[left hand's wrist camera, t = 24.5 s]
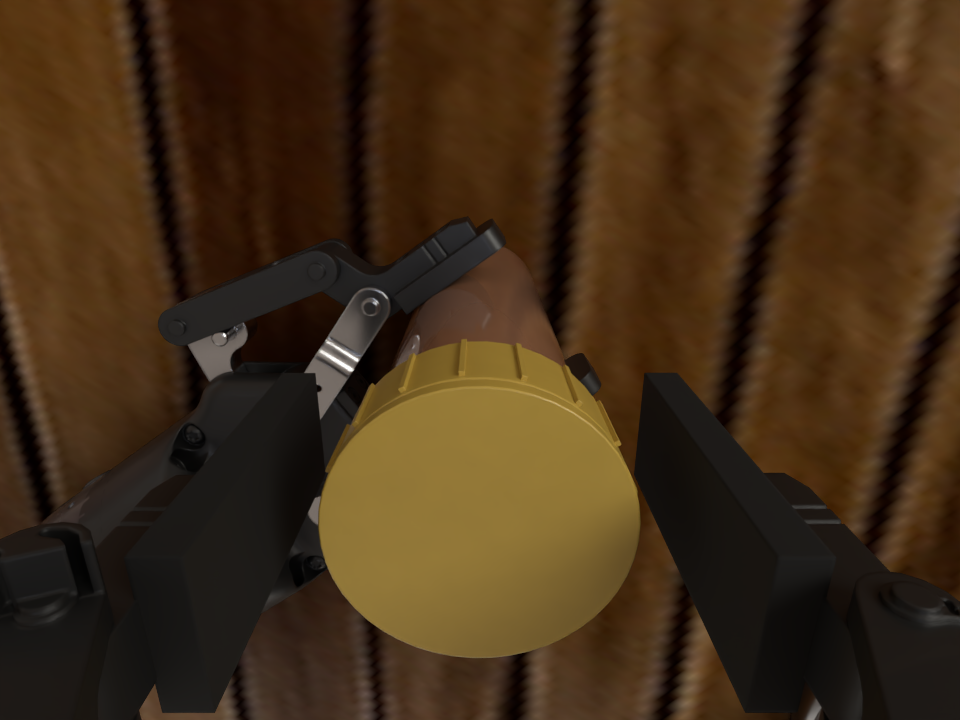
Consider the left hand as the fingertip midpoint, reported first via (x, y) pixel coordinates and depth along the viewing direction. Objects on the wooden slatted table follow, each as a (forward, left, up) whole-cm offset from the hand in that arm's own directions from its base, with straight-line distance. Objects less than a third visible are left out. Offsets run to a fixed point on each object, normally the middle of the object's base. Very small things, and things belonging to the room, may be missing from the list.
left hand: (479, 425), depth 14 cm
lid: (0, 0, +4) cm, 4 cm away
